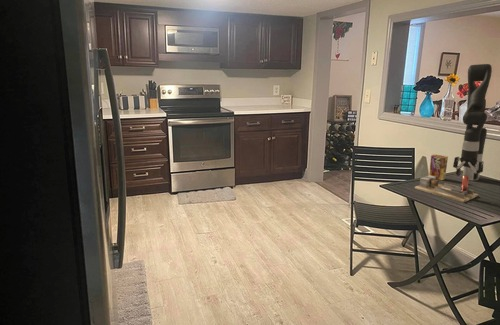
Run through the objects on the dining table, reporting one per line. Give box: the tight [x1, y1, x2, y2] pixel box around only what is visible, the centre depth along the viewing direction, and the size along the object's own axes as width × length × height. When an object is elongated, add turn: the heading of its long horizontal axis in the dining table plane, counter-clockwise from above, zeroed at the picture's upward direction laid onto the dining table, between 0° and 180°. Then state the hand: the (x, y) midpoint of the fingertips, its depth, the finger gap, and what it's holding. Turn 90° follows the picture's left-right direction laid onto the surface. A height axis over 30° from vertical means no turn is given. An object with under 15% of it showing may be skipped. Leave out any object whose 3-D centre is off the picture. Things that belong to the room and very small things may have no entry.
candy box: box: [428, 153, 449, 181], centre depth 227 cm, size 9×4×15 cm, turn 39°
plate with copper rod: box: [451, 174, 470, 195], centre depth 196 cm, size 8×6×11 cm
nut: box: [430, 179, 440, 188], centre depth 209 cm, size 4×4×4 cm
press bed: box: [414, 174, 479, 203], centre depth 203 cm, size 16×28×6 cm, turn 33°
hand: (466, 177), depth 193 cm, fingers open, 8 cm apart
